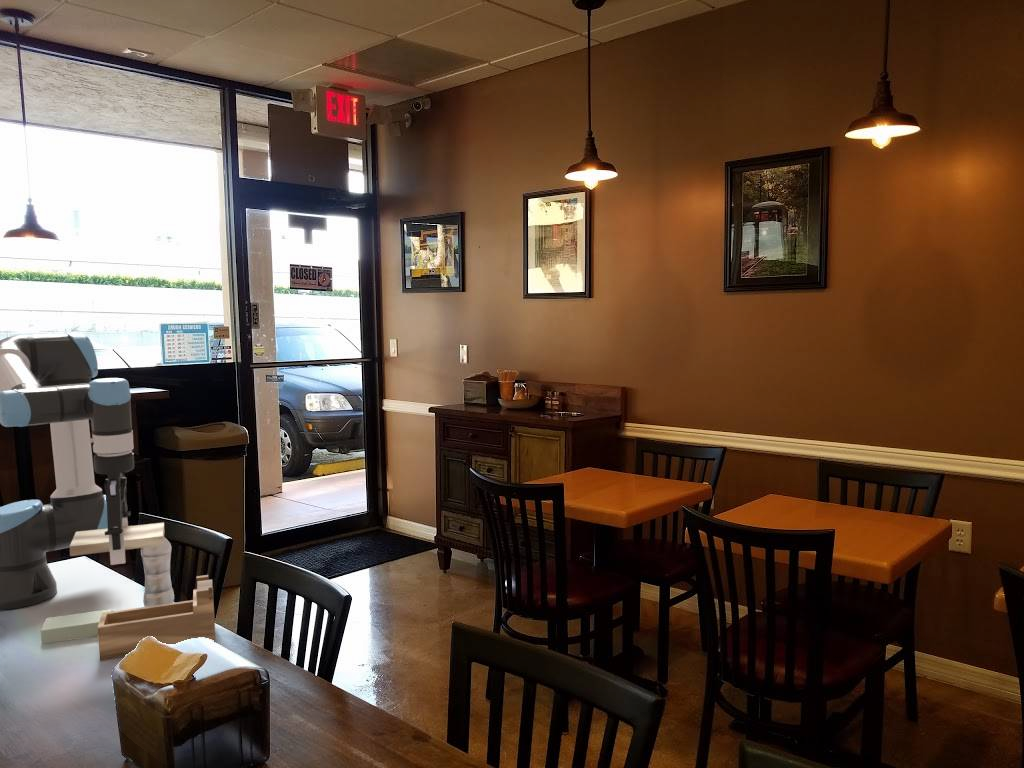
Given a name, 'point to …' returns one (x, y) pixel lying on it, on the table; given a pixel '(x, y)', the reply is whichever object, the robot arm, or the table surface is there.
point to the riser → (71, 626)
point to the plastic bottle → (157, 575)
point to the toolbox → (156, 624)
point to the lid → (132, 539)
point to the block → (206, 586)
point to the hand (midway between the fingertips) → (120, 555)
